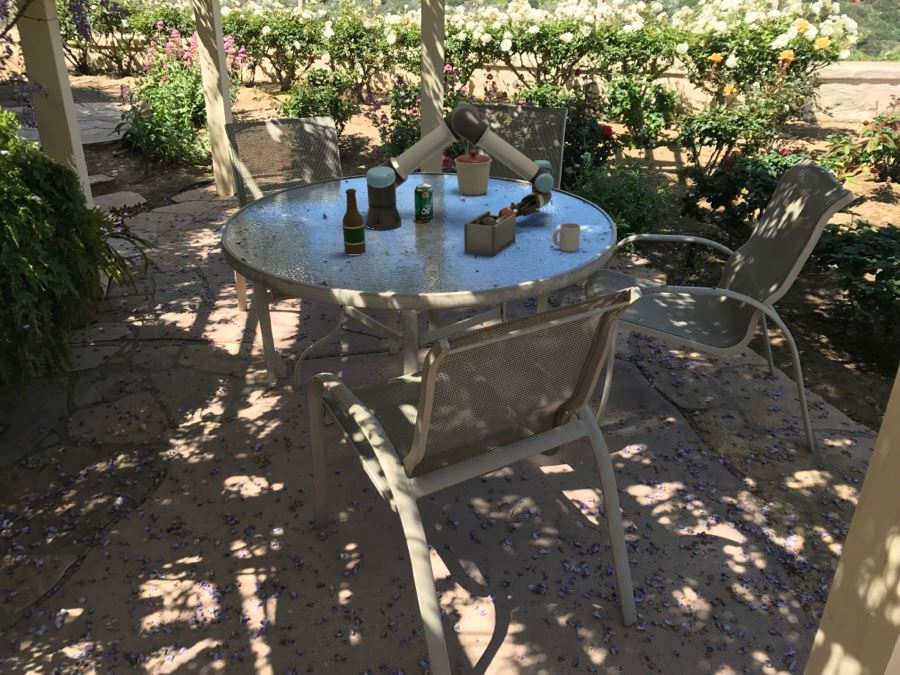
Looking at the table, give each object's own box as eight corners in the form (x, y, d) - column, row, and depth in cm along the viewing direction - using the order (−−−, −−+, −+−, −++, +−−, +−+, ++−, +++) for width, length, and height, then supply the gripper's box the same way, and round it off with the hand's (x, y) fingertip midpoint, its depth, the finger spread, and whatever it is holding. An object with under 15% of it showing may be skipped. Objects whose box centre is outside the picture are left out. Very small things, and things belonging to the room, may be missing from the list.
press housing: (487, 238, 278) (487, 210, 273) (515, 241, 272) (516, 214, 268) (464, 252, 262) (464, 223, 257) (493, 256, 256) (494, 227, 252)
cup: (580, 251, 260) (581, 228, 256) (553, 252, 261) (554, 228, 257) (577, 245, 267) (578, 223, 263) (551, 246, 267) (552, 223, 263)
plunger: (498, 225, 280) (498, 205, 276) (516, 227, 276) (517, 207, 273) (478, 237, 265) (478, 216, 262) (497, 240, 262) (497, 219, 258)
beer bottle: (355, 248, 268) (351, 186, 258) (370, 252, 264) (365, 188, 254) (340, 253, 263) (335, 190, 253) (355, 257, 258) (350, 193, 248)
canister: (447, 195, 342) (446, 151, 333) (467, 187, 356) (467, 145, 347) (479, 199, 333) (479, 154, 324) (498, 191, 346) (498, 148, 337)
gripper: (546, 213, 294) (524, 228, 275) (517, 210, 299) (494, 224, 281) (546, 195, 291) (525, 209, 272) (517, 192, 296) (494, 205, 277)
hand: (509, 216), depth 276 cm, fingers closed
